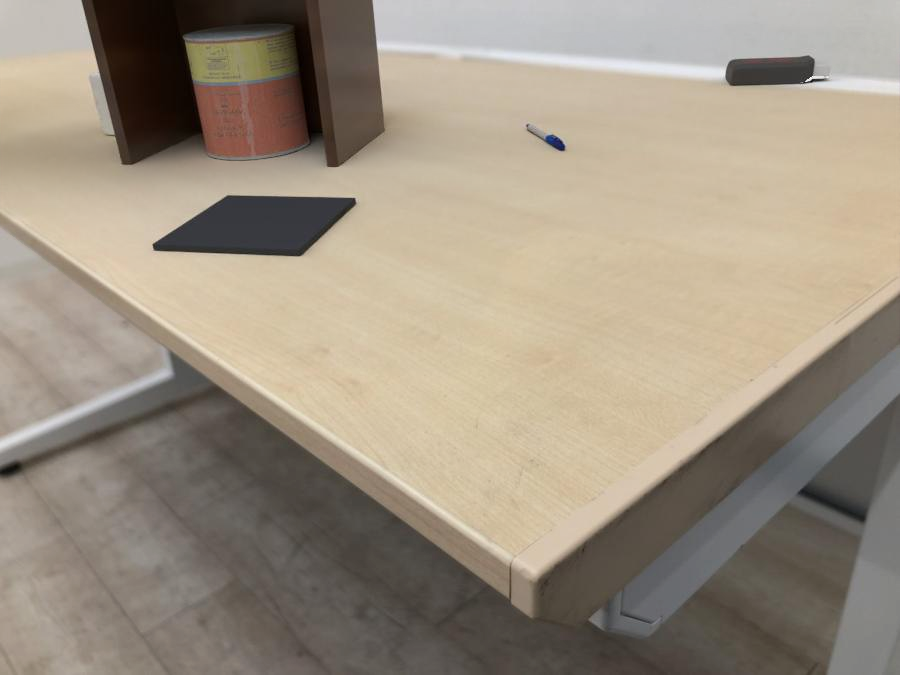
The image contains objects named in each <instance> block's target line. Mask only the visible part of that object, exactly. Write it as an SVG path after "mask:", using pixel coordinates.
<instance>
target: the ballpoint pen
mask: <svg viewBox="0 0 900 675" xmlns="http://www.w3.org/2000/svg"><path fill="white" fill-rule="evenodd" d="M525 127H526V129H527V130H528V131H529V132H531V133H533V134H535V135H536V136H538V137H539V138H541V139H542V140H544V141H545V142H547V143H548V144H549V145H551V146H553V147H555V148H556V149H558V150H561V151H564V150H565V149H566V144H565V143H564V141H563V140H562V139H561V138H560V137H558V136H556V135H555V134H554V133H553V134H548V133H547V132H545V131H543V130H542V129H540V128H538V127H537V126H535V125H533V124H530V123H527V124H526V125H525Z"/></svg>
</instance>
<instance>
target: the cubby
mask: <svg viewBox="0 0 900 675" xmlns="http://www.w3.org/2000/svg"><path fill="white" fill-rule="evenodd" d="M80 1H81V4H82V9H83V13H84V17H85V21H86V24H87V29H88V33H89V37H90V41H91V44H92V49H93V53H94V57H95V62H96V65H97V69H98V72H99V73H100V77H101V81H102V85H103V89H104V93H105V97H106V101H107V105H108V109H109V113H110V117H111V121H112V125H113V129H114V133H115V135H114V137H115V142H116V145H117V149H118V153H119V157H120V161H121V162H120V163H121V165H133V164H135V163H137V162H139V161H142V160H144V159H146V158H148V157H150V156H152V155H154V154H157V153H159V152H160V151H162V150H164V149H167V148H169V147H171V146H174V145H175V144H177V143H179V142H182V141H183V140H185V139H188V138H190V137H191V136H194V135H196V134H198V133H203V130H202V125H201V120H200V115H199V110H198V105H197V100H196V95H195V90H194V85H193V80H192V75H191V70H190V65H189V60H188V55H187V50H186V44H185V40H184V39H183V35H184V34H187V33H190V32H194V31H199V30H204V29H211V28H218V27H226V26H237V25H249V24H290V25H293V26H294V27H295V29H294V34H295V41H296V48H297V56H298V63H299V70H300V77H301V84H302V92H303V99H304V106H305V113H306V120H307V128H308V133H322V138H323V145H324V152H325V159H326V166H327V167H339V166H341V165H342V164H343V163H345V162H346V161H347V160H349V159H350V158H352V156H353V155H355V154H356V153H357V152H359V151H360V150H361V149H363V148H364V147H365V146H366V145H368V144H369V143H370V142H372V141H373V140H375V138H377V137H378V136H379V135H381V134H382V133H383V132H384V131H386V129H385V128H386V126H385V116H384V108H383V107H384V106H383V96H382V95H383V94H382V86H381V76H380V75H381V74H380V65H379V53H378V52H379V51H378V43H377V31H376V22H375V11H374V10H375V9H374V1H373V0H80Z"/></svg>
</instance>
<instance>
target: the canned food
mask: <svg viewBox="0 0 900 675" xmlns="http://www.w3.org/2000/svg"><path fill="white" fill-rule="evenodd" d="M294 29H295V27H294V26H293V25H290V24H249V25H237V26H226V27H218V28H211V29H204V30H199V31H194V32H190V33H187V34H184V35H183V39H184V40H185V44H186V50H187V55H188V60H189V65H190V70H191V75H192V80H193V85H194V90H195V95H196V100H197V105H198V110H199V115H200V120H201V125H202V130H203V132H202V135H203V139H204V146H205V153H206V155H207V156H209V157H210V158H212V159H217V160H223V161H253V160H260V159H261V160H262V159H270V158H274V157H281V156H285V155H288V154H292V153H295V152H297V151H301V150H302V149H304V148H306V147H307V146H309V144H310V143H311V138H310V137H309V132H308V128H307V120H306V113H305V106H304V99H303V92H302V84H301V77H300V70H299V63H298V56H297V48H296V41H295V34H294Z"/></svg>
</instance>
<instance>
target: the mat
mask: <svg viewBox="0 0 900 675" xmlns="http://www.w3.org/2000/svg"><path fill="white" fill-rule="evenodd" d="M356 204H357V200H356V197H341V196H340V197H339V196H338V197H336V196H335V197H333V196H332V197H331V196H291V195H287V196H286V195H283V196H282V195H243V194H242V195H239V194H227V195H226V196H224V197H223V198H221V199H220V200H218V201H216V202H215V203H213V204H212V205H210V206H209V207H207V208H206V209H204V210H202V211H201V212H199V213H198V214H196V215H195V216H193V217H192V218H190V219H189V220H187V221H185V222H184V223H183V224H181V225H179V226H178V227H177V228H175V229H173V230H172V231H170V232H168V233H167V234H166V235H164V236H163V237H161V238H159V239H157V241H155V242H153V243H152V245H151V246H152V248H153V250H154V251H169V252H170V251H171V252H196V253H221V254H245V255H246V254H247V255H271V256H273V255H276V256H298V257H300V256H301V255H303V254H304V253H305V252H306V251H307V250H308V249H309V248H310V247H311V246H312V245H313V244H315V242H316V241H317V240H318V239H319V238H321V237H322V236H323V235H324V234H325V233H326V232H327V231H328V230H329V229H331V227H332V226H333V225H335V224H336V223H337V222H338V221H339V220H340V219H341V218H342V217H343V216H344V215H345V214H346V213H347V212H349V211H350V209H352V208H353V207H354V206H355V205H356Z"/></svg>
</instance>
